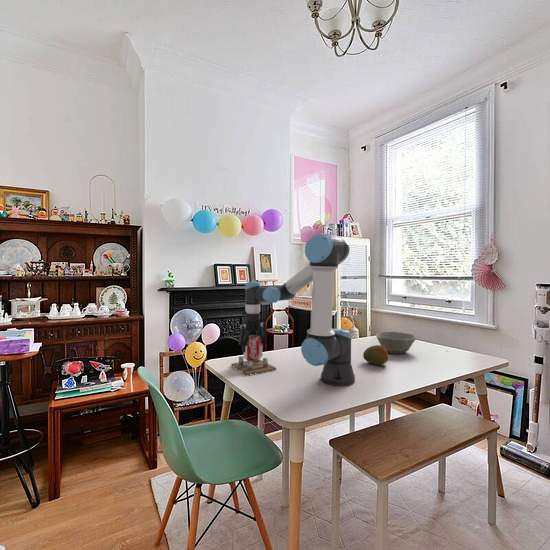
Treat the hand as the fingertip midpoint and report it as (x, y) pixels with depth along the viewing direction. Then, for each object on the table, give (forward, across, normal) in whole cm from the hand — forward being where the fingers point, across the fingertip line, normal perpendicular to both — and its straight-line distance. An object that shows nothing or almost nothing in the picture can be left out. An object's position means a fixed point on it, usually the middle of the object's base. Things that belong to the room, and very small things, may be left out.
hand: (253, 357), depth 166 cm
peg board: (+6, 0, 0) cm, 6 cm away
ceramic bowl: (+6, -86, +19) cm, 88 cm away
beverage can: (+1, 0, 0) cm, 1 cm away
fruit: (+6, -57, +29) cm, 64 cm away
